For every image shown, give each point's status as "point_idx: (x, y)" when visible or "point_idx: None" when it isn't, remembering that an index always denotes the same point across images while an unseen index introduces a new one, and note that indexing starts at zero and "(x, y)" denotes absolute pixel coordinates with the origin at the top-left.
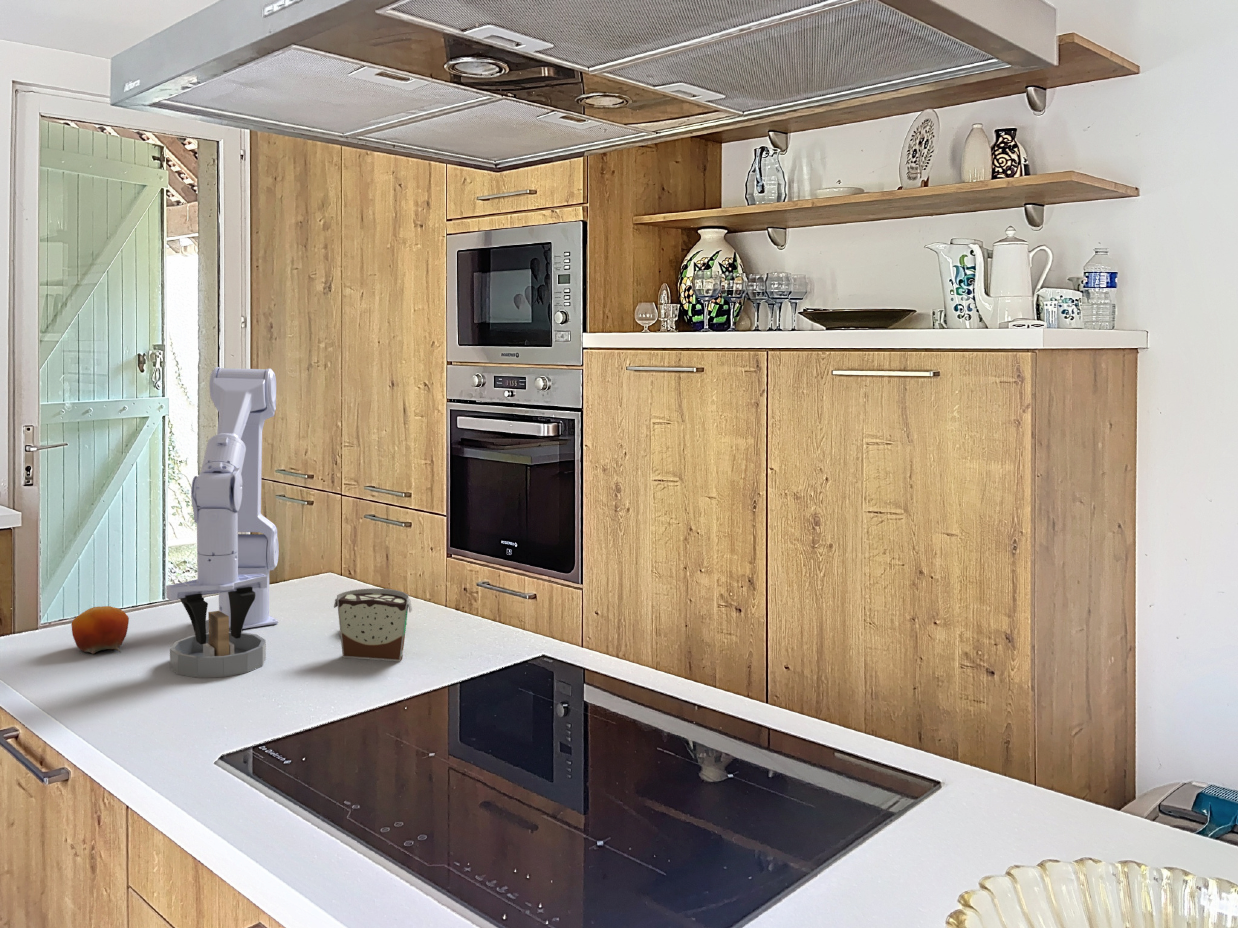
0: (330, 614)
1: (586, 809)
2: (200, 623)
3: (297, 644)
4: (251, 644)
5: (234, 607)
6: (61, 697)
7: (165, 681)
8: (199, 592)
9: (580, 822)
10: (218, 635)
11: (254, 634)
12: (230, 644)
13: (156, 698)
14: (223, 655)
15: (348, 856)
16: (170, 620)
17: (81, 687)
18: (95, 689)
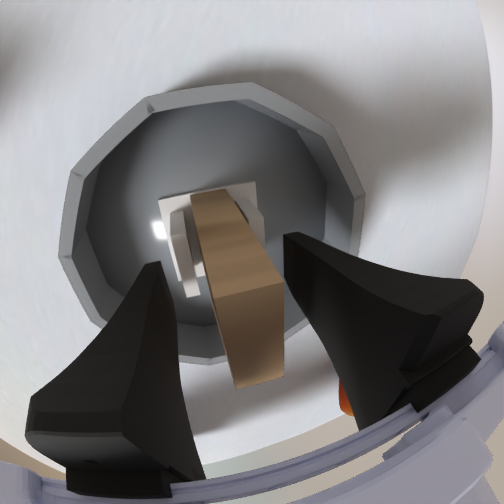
0: (19, 413)
1: None
2: (356, 262)
3: (18, 310)
4: (110, 299)
5: (169, 389)
6: (476, 159)
7: (368, 138)
8: (423, 415)
9: None
10: (251, 230)
11: (97, 322)
12: (183, 241)
13: (404, 43)
14: (212, 200)
15: None
16: (238, 436)
17: (454, 189)
18: (449, 167)
